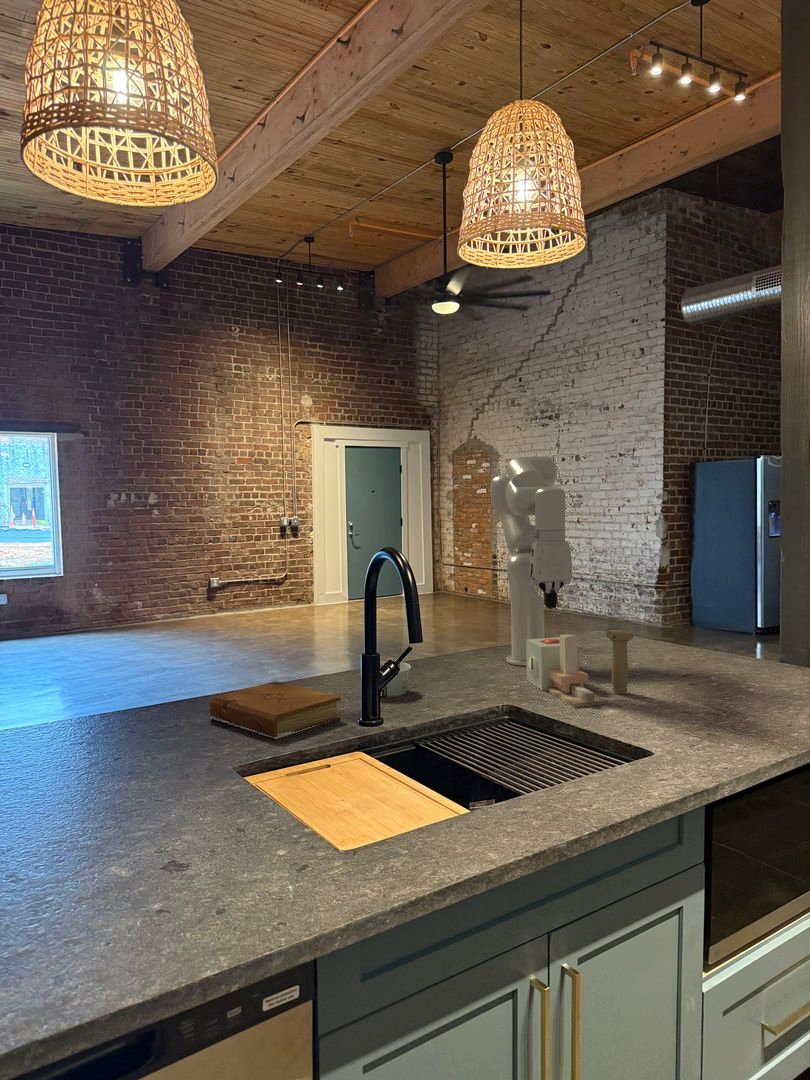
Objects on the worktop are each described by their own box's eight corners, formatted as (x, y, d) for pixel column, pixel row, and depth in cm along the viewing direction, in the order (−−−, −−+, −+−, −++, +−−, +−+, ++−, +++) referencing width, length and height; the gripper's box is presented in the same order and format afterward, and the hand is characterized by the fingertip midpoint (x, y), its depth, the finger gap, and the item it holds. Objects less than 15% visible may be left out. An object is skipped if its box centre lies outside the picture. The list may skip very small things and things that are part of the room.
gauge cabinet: (524, 681, 197) (523, 639, 196) (561, 678, 199) (561, 637, 199) (539, 690, 187) (538, 647, 186) (578, 687, 190) (578, 644, 189)
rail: (546, 690, 187) (546, 678, 187) (576, 688, 189) (576, 676, 189) (574, 707, 172) (574, 694, 172) (606, 704, 174) (605, 691, 174)
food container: (411, 698, 184) (410, 671, 183) (362, 699, 184) (361, 672, 183) (411, 685, 196) (411, 660, 195) (366, 686, 196) (365, 661, 195)
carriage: (549, 686, 186) (548, 634, 186) (575, 683, 188) (574, 632, 187) (561, 693, 180) (560, 639, 179) (588, 690, 181) (587, 637, 180)
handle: (626, 697, 179) (626, 635, 178) (603, 692, 184) (602, 632, 183) (637, 693, 183) (636, 632, 182) (613, 688, 187) (613, 629, 186)
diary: (210, 722, 169) (209, 697, 169) (276, 704, 183) (275, 681, 183) (274, 742, 154) (273, 715, 154) (341, 720, 168) (340, 695, 168)
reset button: (541, 650, 194) (541, 639, 194) (555, 649, 195) (555, 638, 195) (547, 653, 190) (547, 642, 190) (562, 652, 191) (562, 641, 191)
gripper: (528, 539, 186) (528, 612, 187) (584, 536, 189) (584, 608, 191) (517, 536, 193) (517, 607, 195) (570, 534, 196) (571, 603, 198)
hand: (550, 607), depth 193 cm, fingers closed
